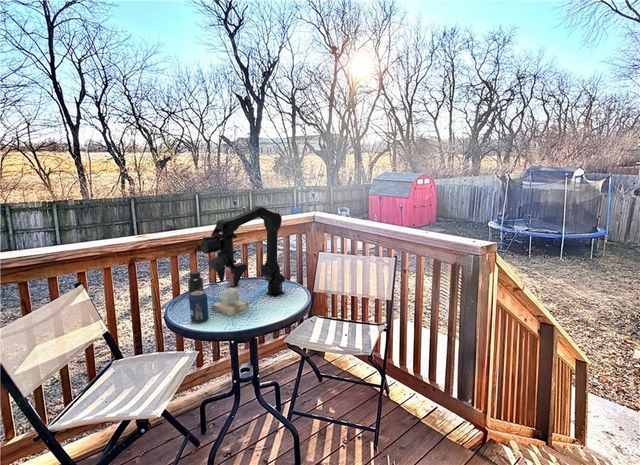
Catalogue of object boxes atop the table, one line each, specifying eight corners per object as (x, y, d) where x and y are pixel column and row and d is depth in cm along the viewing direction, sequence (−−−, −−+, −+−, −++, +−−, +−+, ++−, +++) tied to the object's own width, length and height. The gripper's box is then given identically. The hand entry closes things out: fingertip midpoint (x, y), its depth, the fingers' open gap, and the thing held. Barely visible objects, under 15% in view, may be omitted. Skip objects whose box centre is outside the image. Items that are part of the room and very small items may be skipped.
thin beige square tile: (232, 302, 173) (232, 296, 172) (248, 307, 166) (248, 302, 166) (212, 309, 164) (212, 304, 164) (228, 316, 158) (228, 310, 157)
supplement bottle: (199, 299, 176) (197, 275, 174) (186, 298, 177) (184, 274, 175) (206, 294, 183) (204, 270, 180) (193, 293, 184) (191, 270, 182)
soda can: (203, 315, 159) (201, 288, 156) (212, 320, 154) (209, 292, 152) (187, 320, 154) (185, 292, 152) (196, 325, 149) (193, 297, 147)
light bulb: (227, 289, 189) (226, 266, 187) (225, 284, 196) (223, 262, 193) (242, 287, 192) (240, 264, 189) (239, 282, 198) (237, 260, 196)
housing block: (232, 300, 168) (231, 287, 167) (239, 302, 165) (238, 289, 164) (221, 304, 164) (220, 291, 162) (228, 306, 161) (227, 293, 160)
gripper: (197, 249, 159) (199, 285, 162) (225, 256, 148) (227, 294, 151) (218, 244, 167) (220, 278, 171) (246, 250, 156) (248, 286, 159)
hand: (228, 284), depth 163 cm, fingers open, 9 cm apart
